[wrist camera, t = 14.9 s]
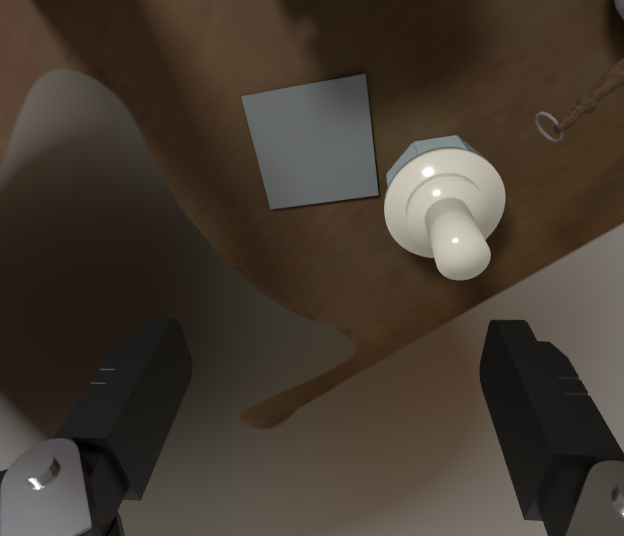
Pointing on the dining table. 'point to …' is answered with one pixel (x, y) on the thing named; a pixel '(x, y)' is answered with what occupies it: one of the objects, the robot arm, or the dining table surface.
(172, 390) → the robot arm
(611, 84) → the coffee pot
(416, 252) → the lid
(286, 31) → the dining table surface
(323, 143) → the mat
